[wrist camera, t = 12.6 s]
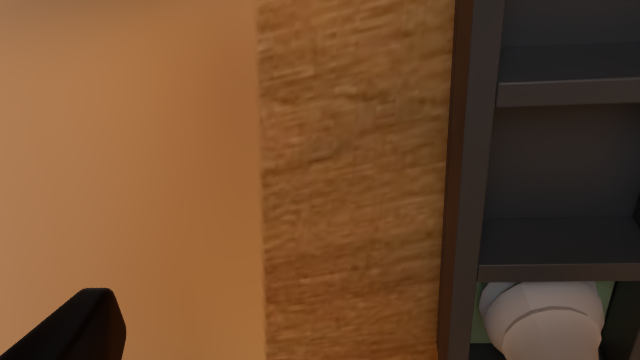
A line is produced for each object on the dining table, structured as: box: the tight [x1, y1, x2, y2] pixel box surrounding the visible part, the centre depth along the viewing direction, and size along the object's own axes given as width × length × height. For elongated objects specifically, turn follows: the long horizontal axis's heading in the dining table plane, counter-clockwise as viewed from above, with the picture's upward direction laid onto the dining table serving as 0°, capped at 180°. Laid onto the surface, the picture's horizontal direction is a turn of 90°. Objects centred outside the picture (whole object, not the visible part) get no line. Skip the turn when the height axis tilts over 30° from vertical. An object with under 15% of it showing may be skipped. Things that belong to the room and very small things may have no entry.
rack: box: [436, 0, 640, 360], centre depth 19 cm, size 7×21×3 cm, turn 3°
